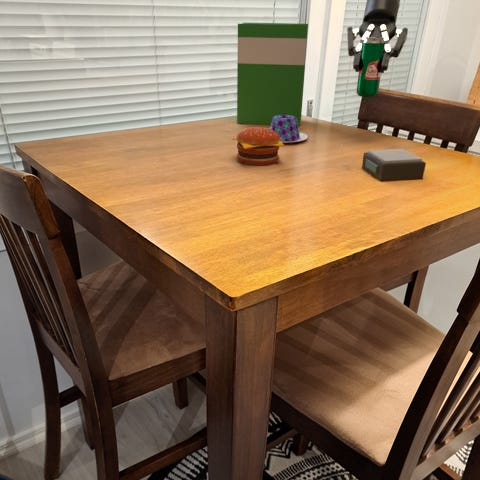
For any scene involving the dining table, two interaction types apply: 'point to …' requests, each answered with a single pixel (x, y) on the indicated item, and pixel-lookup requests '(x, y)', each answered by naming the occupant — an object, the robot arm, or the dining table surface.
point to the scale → (393, 165)
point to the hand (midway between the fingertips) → (369, 69)
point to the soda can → (370, 66)
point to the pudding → (287, 128)
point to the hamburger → (258, 146)
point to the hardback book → (270, 71)
